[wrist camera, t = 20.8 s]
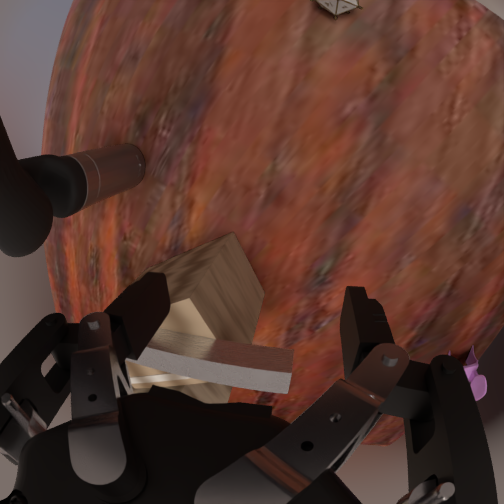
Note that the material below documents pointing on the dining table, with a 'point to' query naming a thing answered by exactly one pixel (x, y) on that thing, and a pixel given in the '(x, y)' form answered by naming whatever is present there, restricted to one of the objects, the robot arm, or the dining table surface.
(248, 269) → the stand
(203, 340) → the bar
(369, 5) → the dining table surface
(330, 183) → the dining table surface
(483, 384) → the toy chair
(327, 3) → the game die
